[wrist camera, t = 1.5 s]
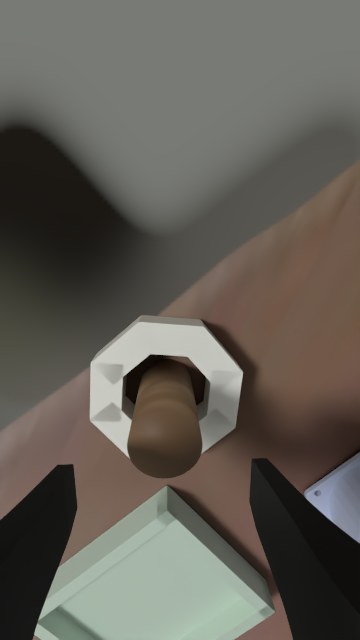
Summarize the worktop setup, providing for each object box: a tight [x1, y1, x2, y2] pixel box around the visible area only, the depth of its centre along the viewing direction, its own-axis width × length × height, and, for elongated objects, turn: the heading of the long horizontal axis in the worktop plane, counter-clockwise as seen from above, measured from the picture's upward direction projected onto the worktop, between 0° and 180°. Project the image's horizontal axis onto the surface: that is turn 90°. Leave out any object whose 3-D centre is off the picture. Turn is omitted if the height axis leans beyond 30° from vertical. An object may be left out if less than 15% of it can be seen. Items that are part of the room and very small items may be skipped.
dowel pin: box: [127, 359, 203, 478], centre depth 17 cm, size 4×4×7 cm
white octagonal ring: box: [90, 315, 243, 458], centre depth 20 cm, size 10×10×2 cm
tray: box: [34, 485, 275, 640], centre depth 24 cm, size 15×13×2 cm
